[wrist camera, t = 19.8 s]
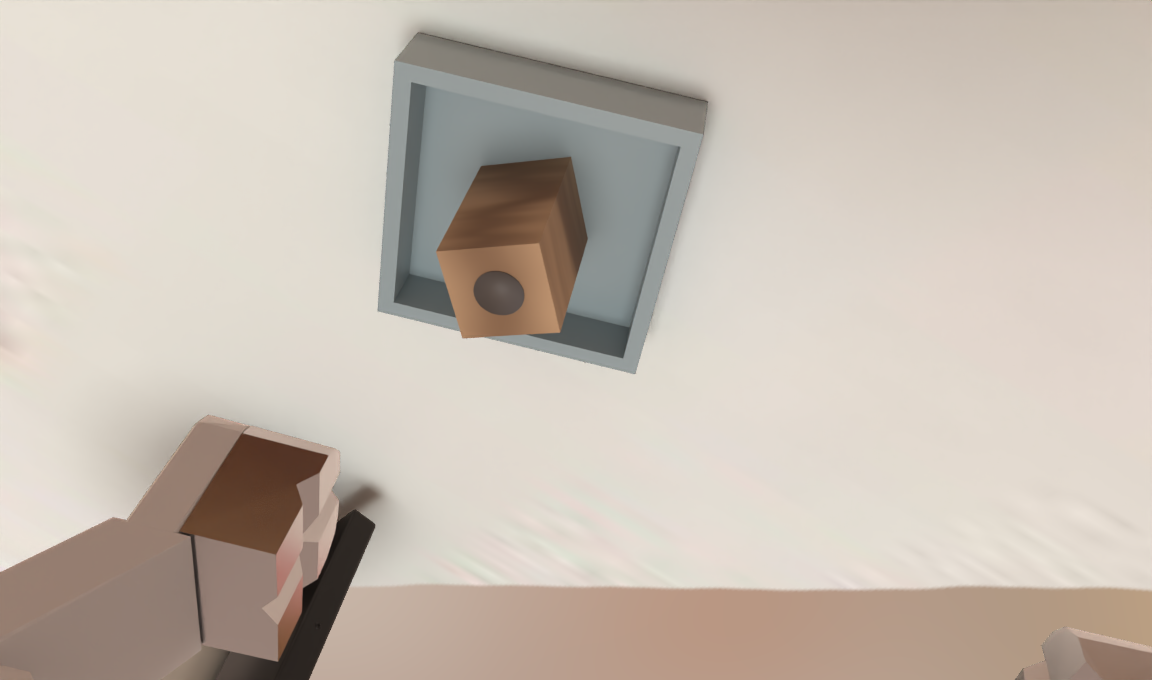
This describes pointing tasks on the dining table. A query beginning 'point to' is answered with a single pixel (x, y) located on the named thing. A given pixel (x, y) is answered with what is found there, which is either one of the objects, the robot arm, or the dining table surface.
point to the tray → (527, 133)
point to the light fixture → (236, 676)
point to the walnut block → (515, 249)
